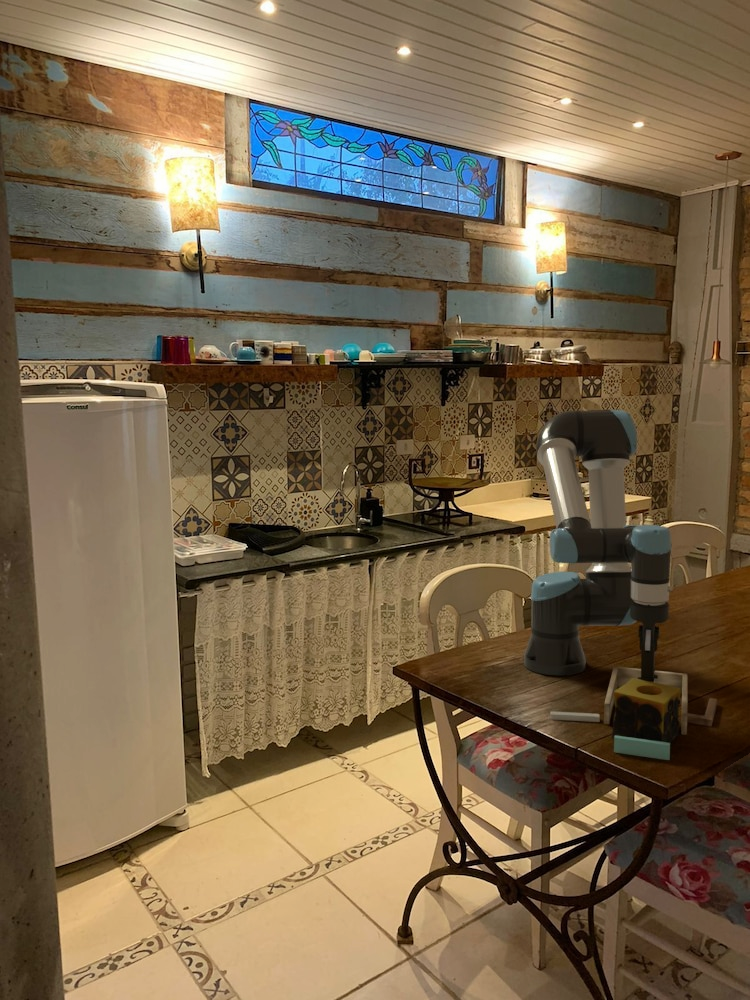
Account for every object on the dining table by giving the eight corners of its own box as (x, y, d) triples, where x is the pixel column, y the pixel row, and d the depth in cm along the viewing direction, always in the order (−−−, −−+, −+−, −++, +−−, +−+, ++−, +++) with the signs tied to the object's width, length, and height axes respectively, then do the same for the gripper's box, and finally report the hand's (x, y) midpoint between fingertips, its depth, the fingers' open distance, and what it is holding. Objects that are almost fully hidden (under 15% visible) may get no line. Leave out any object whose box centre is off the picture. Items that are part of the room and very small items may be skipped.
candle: (610, 739, 155) (611, 691, 154) (630, 722, 163) (631, 676, 161) (662, 753, 149) (664, 703, 147) (679, 734, 156) (681, 687, 155)
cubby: (604, 723, 162) (604, 703, 162) (613, 684, 183) (613, 666, 183) (686, 734, 156) (687, 713, 156) (686, 692, 178) (687, 673, 177)
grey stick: (550, 718, 167) (550, 711, 166) (598, 720, 165) (598, 713, 165) (550, 721, 165) (550, 714, 165) (599, 723, 163) (599, 716, 163)
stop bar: (613, 752, 150) (614, 737, 149) (614, 750, 151) (614, 735, 150) (669, 760, 146) (670, 745, 146) (669, 757, 147) (670, 742, 146)
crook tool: (686, 722, 162) (686, 715, 162) (693, 701, 173) (693, 695, 173) (711, 726, 160) (711, 719, 160) (716, 705, 171) (717, 699, 170)
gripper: (668, 610, 153) (665, 724, 157) (669, 594, 165) (666, 700, 169) (628, 607, 156) (626, 719, 159) (632, 591, 168) (630, 696, 171)
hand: (646, 709), depth 164 cm, fingers closed
